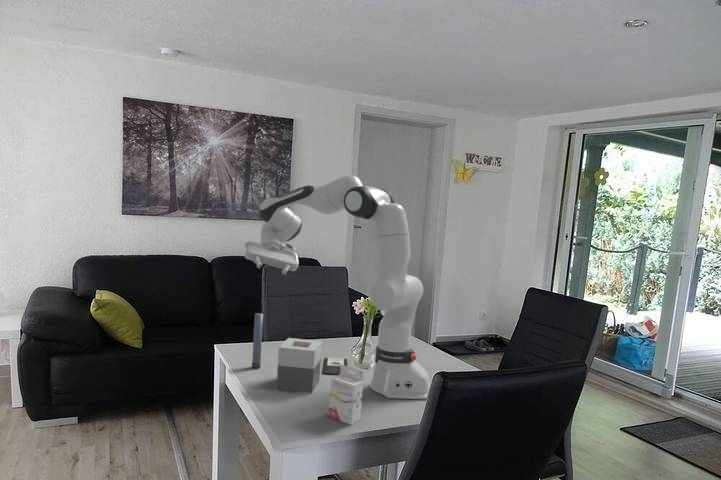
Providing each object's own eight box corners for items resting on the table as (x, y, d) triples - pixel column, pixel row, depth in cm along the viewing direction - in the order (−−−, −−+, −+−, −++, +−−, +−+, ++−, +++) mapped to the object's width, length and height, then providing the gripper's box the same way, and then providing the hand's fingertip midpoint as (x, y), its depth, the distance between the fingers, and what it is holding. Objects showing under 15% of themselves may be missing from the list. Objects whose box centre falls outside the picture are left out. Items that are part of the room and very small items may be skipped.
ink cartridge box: (327, 417, 142) (330, 367, 141) (337, 411, 146) (340, 363, 145) (351, 425, 138) (355, 374, 137) (361, 419, 142) (364, 370, 141)
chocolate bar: (322, 373, 177) (324, 357, 195) (322, 375, 178) (324, 360, 195) (347, 374, 178) (347, 359, 196) (347, 376, 178) (347, 361, 196)
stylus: (261, 366, 181) (264, 313, 180) (258, 369, 178) (261, 315, 177) (253, 365, 182) (256, 312, 180) (250, 368, 178) (253, 314, 177)
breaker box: (319, 380, 171) (321, 341, 170) (312, 393, 159) (314, 351, 158) (286, 376, 172) (288, 337, 171) (276, 389, 161) (278, 347, 160)
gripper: (248, 234, 184) (246, 255, 172) (299, 248, 191) (301, 270, 180) (243, 247, 187) (241, 269, 175) (293, 260, 194) (295, 282, 183)
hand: (272, 269), depth 178 cm, fingers open, 8 cm apart
